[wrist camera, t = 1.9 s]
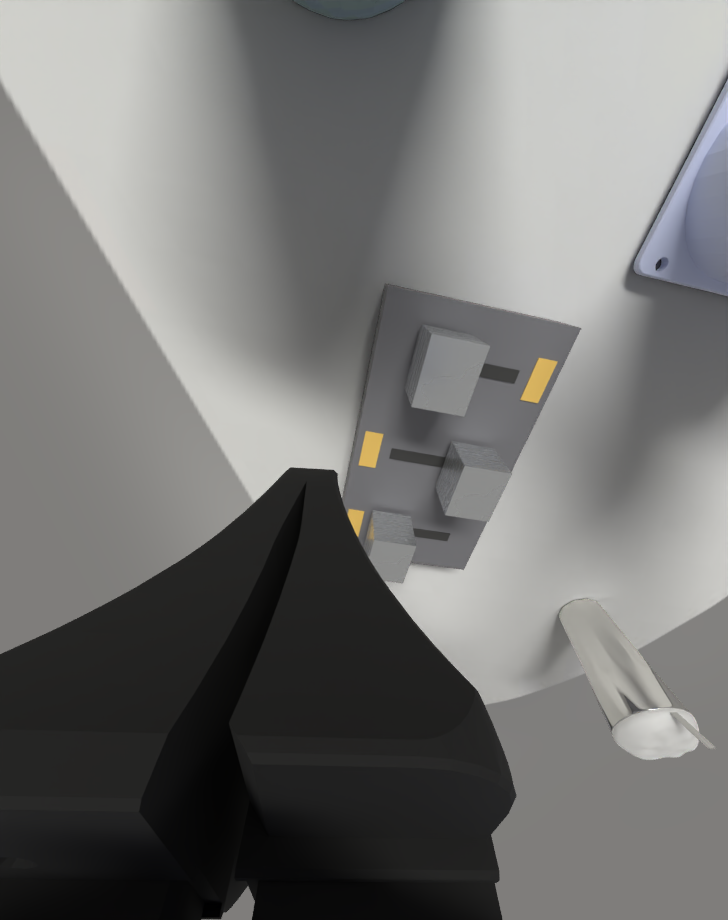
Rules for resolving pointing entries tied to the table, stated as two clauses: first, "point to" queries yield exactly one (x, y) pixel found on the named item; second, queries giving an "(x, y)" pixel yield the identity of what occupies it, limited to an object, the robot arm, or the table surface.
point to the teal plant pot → (349, 7)
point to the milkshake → (628, 687)
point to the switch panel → (445, 414)
